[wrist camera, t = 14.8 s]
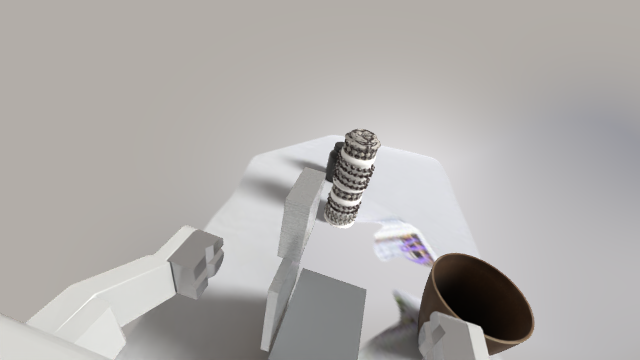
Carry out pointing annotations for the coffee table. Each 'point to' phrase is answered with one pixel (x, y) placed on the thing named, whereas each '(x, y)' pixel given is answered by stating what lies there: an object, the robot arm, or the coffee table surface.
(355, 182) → the black white cylinder
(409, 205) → the coffee table surface
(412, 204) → the coffee table surface
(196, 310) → the coffee table surface
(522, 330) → the plant pot
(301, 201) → the side door
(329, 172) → the supplement bottle
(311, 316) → the block
